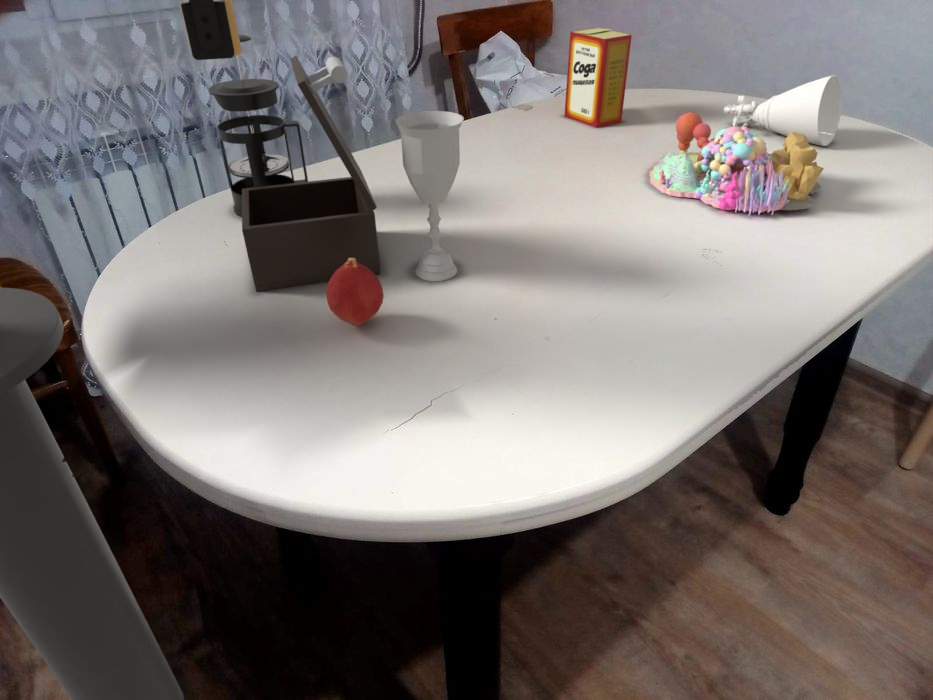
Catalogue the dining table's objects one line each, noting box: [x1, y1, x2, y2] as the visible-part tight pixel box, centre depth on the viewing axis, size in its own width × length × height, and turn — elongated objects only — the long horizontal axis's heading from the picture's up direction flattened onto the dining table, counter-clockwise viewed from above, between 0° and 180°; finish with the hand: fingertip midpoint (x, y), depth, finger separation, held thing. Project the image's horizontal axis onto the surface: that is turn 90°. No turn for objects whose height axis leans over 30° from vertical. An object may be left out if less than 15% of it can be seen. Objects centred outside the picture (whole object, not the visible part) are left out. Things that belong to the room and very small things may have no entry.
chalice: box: [394, 110, 465, 282], centre depth 75 cm, size 7×7×18 cm
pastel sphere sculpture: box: [649, 111, 824, 217], centre depth 98 cm, size 25×24×9 cm
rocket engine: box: [723, 74, 843, 147], centre depth 120 cm, size 12×12×18 cm
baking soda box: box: [564, 27, 632, 129], centre depth 127 cm, size 10×6×16 cm
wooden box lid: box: [290, 55, 378, 211], centre depth 75 cm, size 15×13×5 cm
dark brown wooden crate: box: [241, 176, 381, 292], centre depth 80 cm, size 15×13×8 cm
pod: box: [179, 0, 243, 57], centre depth 54 cm, size 4×4×4 cm
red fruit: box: [325, 258, 385, 327], centre depth 68 cm, size 6×6×8 cm
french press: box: [208, 34, 309, 218], centre depth 90 cm, size 12×9×23 cm
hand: (215, 50), depth 55 cm, fingers closed on pod, 4 cm apart
